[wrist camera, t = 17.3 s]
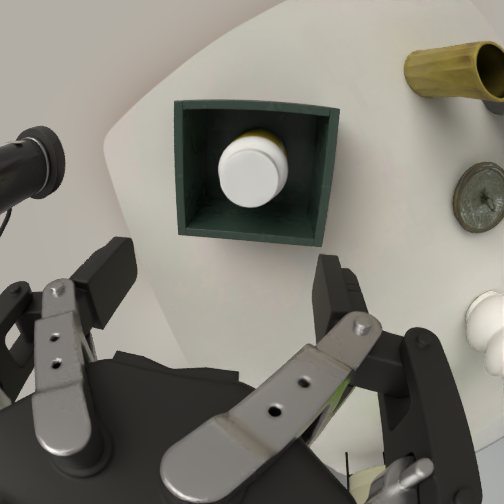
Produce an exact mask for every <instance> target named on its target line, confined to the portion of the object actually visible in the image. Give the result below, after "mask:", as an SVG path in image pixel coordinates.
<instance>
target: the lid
mask: <svg viewBox="0 0 504 504" xmlns="http://www.w3.org/2000/svg"><path fill="white" fill-rule="evenodd" d="M453 210H454V214H455V216H456V218H457V220H458V221H459V223H460V225H461V226H462V227H463V228H464V229H465V230H467V231H469V232H471V233H482V232H485V231H488V230H490V229H492V228H493V227H495V226H496V225H497V224H498V223H499V222H500V221H501V220H502V219H503V218H504V170H503V169H502V168H501V167H500V166H498V165H497V164H494V163H492V162H482V163H478V164H475V165H473V166H472V167H470V168H469V169H468V170H467V171H466V172H465V173H464V174H463V175H462V177H461V179H460V180H459V182H458V184H457V187H456V189H455V193H454V197H453Z"/></svg>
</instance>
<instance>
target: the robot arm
mask: <svg viewBox="0 0 504 504" xmlns="http://www.w3.org/2000/svg"><path fill="white" fill-rule="evenodd" d="M7 143H10V144H7V145H5V146H2V147H0V214H2V213H4V212H5V211H7V214H6V217H5V219H4V221H3V223H2V226H1V228H0V236H1V235H2V233H3V231H4V229H5V226H6V225H7V223H8V221H9V218H10V215H11V211H12V207H13V206H15V205H16V204H18V203H20V202H21V201H23V200H25V199H27V198H29V197H30V196H32V195H34V194H36V193H38V192H40V191H42V190H43V189H44V188H45V187H46V186H47V184H48V182H49V180H50V176H51V160H50V156H49V152H48V150H47V148H46V146H45V145H44V143H43V142H42V141H41V140H40V139H38V138H37V137H34V136H29V137H26V138H23V139H21V140H19V141H9V142H7ZM136 278H137V264H136V258H135V253H134V245H133V241H132V239H131V238H127V237H114V238H113V239H112V240H111V241H110V242H109V243H108V244H107V245H106V246H104V247H102V248H100V249H99V250H97V251H95V252H94V253H93V254H92V255H91V256H90V257H89V259H87V260H86V261H85V263H84V264H82V265H81V266H80V267H79V269H78V270H77V271H76V272H75V273H74V274H73V275H72V276H71V277H70V278H69V279H57V280H55V281H52V282H51V283H49V284H48V285H47V286H46V287H45V288H44V290H43V292H32V291H31V289H30V286H29V284H28V283H27V282H25V281H19V282H16V283H13V284H11V285H10V286H8V287H7V288H6V289H5V290H4V291H3V292H2V294H1V295H0V504H357V503H356V501H355V499H354V497H353V496H352V495H351V493H350V492H349V491H348V490H347V489H346V488H345V487H344V486H343V485H342V484H341V483H340V482H339V480H338V479H337V478H336V477H335V476H334V475H333V474H332V473H331V472H330V471H329V469H328V468H327V467H326V466H325V465H324V464H323V463H322V462H321V461H320V459H319V458H318V457H317V456H316V455H315V454H314V453H313V451H312V450H311V449H310V448H309V447H310V445H311V444H312V443H313V442H314V441H315V440H316V439H317V437H318V436H319V435H320V434H321V432H322V431H323V429H324V428H325V427H326V425H327V424H328V422H329V421H330V420H331V418H332V417H333V416H334V415H335V413H336V412H337V411H338V410H339V408H340V407H341V406H342V404H343V403H344V402H345V401H346V399H347V398H348V397H349V395H350V394H351V393H352V391H353V390H354V389H355V387H360V388H364V389H368V390H371V391H375V392H378V400H379V407H380V415H381V424H382V433H383V443H384V455H385V470H384V471H382V472H381V473H380V474H379V475H377V476H376V477H375V478H374V480H373V481H372V483H371V486H370V491H369V496H368V498H367V500H366V502H365V503H364V504H481V503H482V488H481V482H480V476H479V470H478V465H477V460H476V455H475V451H474V446H473V442H472V438H471V434H470V430H469V426H468V423H467V419H466V415H465V412H464V409H463V405H462V402H461V399H460V396H459V392H458V389H457V386H456V383H455V380H454V377H453V375H452V372H451V369H450V366H449V363H448V361H447V358H446V355H445V353H444V350H443V348H442V345H441V343H440V341H439V339H438V337H437V336H436V335H435V334H434V333H432V332H431V331H429V330H427V329H425V328H420V327H415V328H411V329H409V330H408V331H407V332H406V334H405V336H404V337H403V336H399V335H395V334H392V333H388V332H386V331H383V330H382V326H381V323H380V322H379V321H378V320H377V319H376V318H375V317H374V316H372V315H370V314H369V313H368V310H367V307H366V304H365V301H364V297H363V295H362V292H361V289H360V286H359V283H358V280H357V277H356V275H355V274H354V273H353V272H352V271H351V270H350V269H348V268H341V265H340V262H339V258H338V256H335V255H324V254H320V255H319V257H318V262H317V267H316V272H315V278H314V283H313V289H312V305H313V314H314V324H315V334H316V346H313V345H311V344H307V345H305V346H304V347H303V348H302V349H300V350H299V351H298V352H297V353H296V354H295V355H294V356H293V357H292V358H291V359H290V360H289V361H287V362H286V363H285V364H284V365H283V366H282V367H281V368H280V369H279V370H277V371H276V372H275V373H274V374H273V375H272V376H271V377H269V378H268V379H267V380H266V381H265V382H264V383H262V384H261V385H260V386H259V387H258V388H257V389H255V388H253V387H252V386H250V385H247V384H245V383H243V382H240V381H239V372H238V371H230V370H221V369H214V368H207V367H205V368H183V369H172V368H168V367H166V366H164V365H161V364H159V363H157V362H155V361H153V360H150V359H148V358H146V357H144V356H139V355H135V354H130V353H126V352H121V351H116V353H115V355H114V357H113V359H104V360H97V356H96V352H95V347H94V342H93V338H92V334H91V332H90V330H91V329H92V327H94V328H97V329H102V330H103V329H104V328H105V326H106V324H107V323H108V321H109V320H110V318H111V317H112V315H113V314H114V312H115V311H116V309H117V308H118V306H119V305H120V303H121V301H122V300H123V299H124V297H125V296H126V294H127V292H128V291H129V290H130V288H131V287H132V285H133V284H134V283H135V281H136ZM14 323H15V324H16V326H17V328H18V329H19V331H20V333H21V334H20V336H19V337H18V339H17V340H16V341H15V343H14V344H13V346H12V348H11V349H10V350H8V348H7V347H6V344H5V336H6V334H7V333H8V331H9V330H10V328H11V327H12V326H13V325H14ZM34 367H35V385H36V389H35V392H34V393H32V394H30V395H28V396H26V397H25V398H22V399H20V400H19V401H17V402H15V400H16V398H17V397H18V395H19V393H20V391H21V389H22V387H23V386H24V384H25V382H26V380H27V379H28V377H29V375H30V373H31V372H32V370H33V368H34ZM14 402H15V403H14Z"/></svg>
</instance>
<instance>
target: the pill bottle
mask: <svg viewBox="0 0 504 504" xmlns="http://www.w3.org/2000/svg"><path fill="white" fill-rule="evenodd" d="M218 173H219V178H220V184H221V188H222V190H223V192H224V194H225V195H226V196H227V198H228V199H229V200H231V201H232V202H233V203H235V204H237V205H239V206H242V207H248V208H252V207H258V206H261V205H263V204H265V203H267V202H268V201H270V200H271V199H272V198H273V197H275V196H276V195H277V194H278V193H279V192H280V191H281V190H282V188H283V187H284V185H285V183H286V180H287V176H288V160H287V151H286V147H285V145H284V143H283V141H282V140H281V138H280V137H279V136H278V135H277V134H275V133H274V132H272V131H270V130H267V129H262V128H255V129H250V130H248V131H245V132H244V133H242V134H241V135H239V136H238V137H237V138H236V139H235V140H234V141H233V142H232V143H231V144H230V145H229V146H228V147H227V148H226V149H225V150H224V152H223V154H222V156H221V158H220V161H219V167H218Z"/></svg>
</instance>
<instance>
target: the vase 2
mask: <svg viewBox="0 0 504 504" xmlns="http://www.w3.org/2000/svg"><path fill="white" fill-rule="evenodd" d="M466 323H467V329H466V335H467V339H468V342H469V344H470V345H471V346H472V347H473V348H474V349H476V350H478V351H484V352H485V351H486V353H485V358H484V364H485V368H486V370H487V372H488V373H490V374H491V375H493V376H501V377H502V378H504V295H501V294H498V293H497V292H494V291H489V292H486V293H484V294H482V295H480V296H479V297H478V298H477V299H476V300H475V301H474V302H473V303H472V304H471V306H470V307H469V309H468V311H467V314H466ZM503 392H504V386H503Z"/></svg>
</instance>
